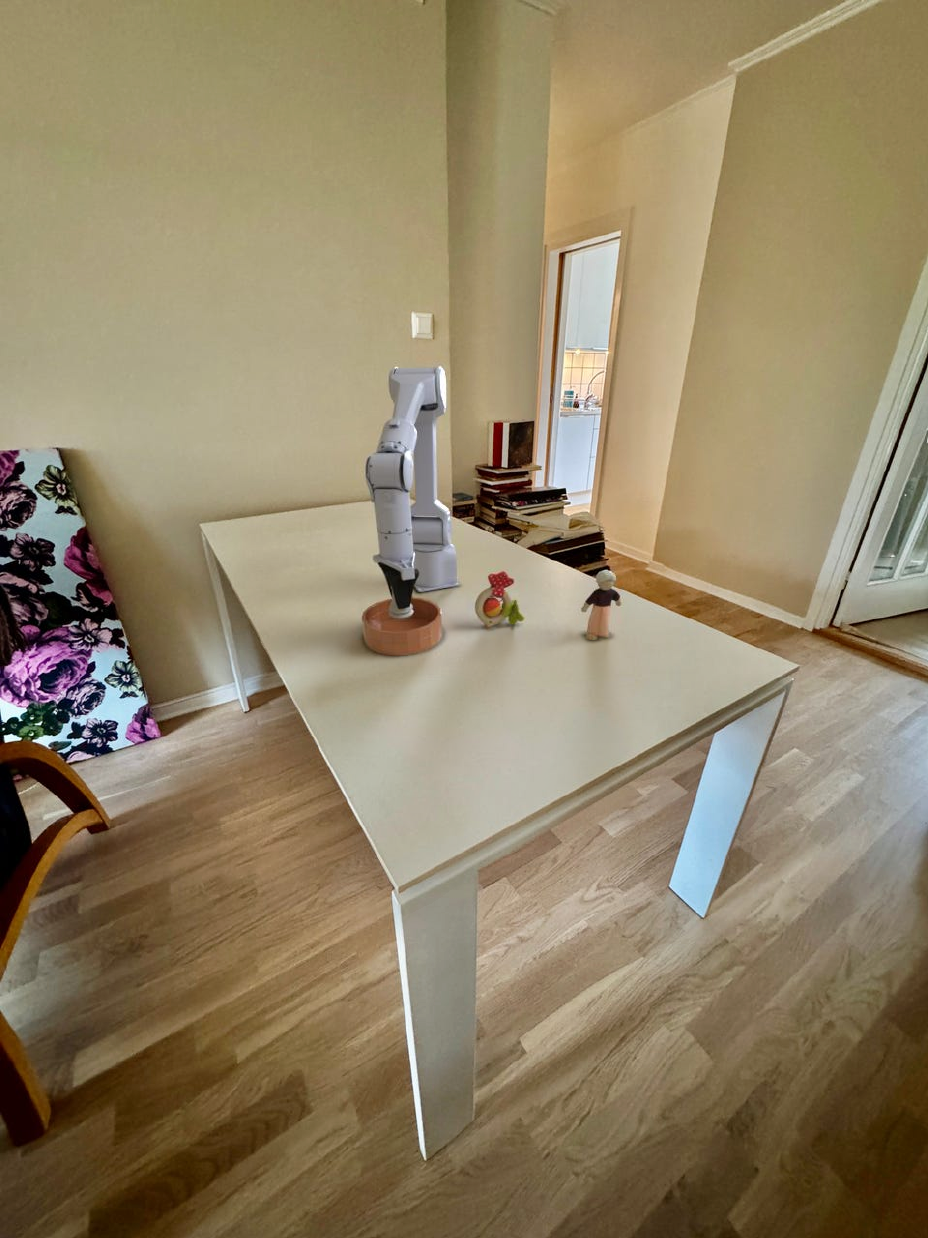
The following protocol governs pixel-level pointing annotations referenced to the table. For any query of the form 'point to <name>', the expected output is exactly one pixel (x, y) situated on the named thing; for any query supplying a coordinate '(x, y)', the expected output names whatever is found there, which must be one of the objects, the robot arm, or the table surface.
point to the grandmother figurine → (601, 605)
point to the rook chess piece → (399, 610)
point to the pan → (402, 628)
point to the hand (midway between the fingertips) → (400, 602)
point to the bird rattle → (497, 602)
